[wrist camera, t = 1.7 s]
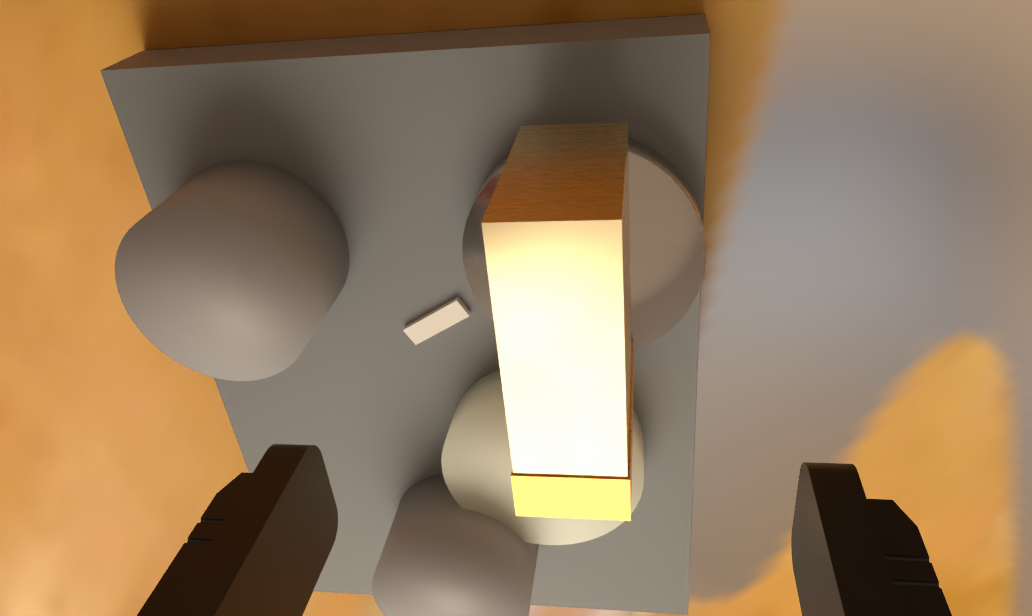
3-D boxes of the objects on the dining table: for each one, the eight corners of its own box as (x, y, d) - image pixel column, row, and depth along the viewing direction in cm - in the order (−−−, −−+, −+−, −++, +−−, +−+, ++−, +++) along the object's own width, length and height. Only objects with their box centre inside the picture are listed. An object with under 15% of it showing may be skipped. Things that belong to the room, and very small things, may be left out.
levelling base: (143, 50, 21) (20, 107, 17) (704, 13, 19) (721, 70, 15) (311, 549, 32) (260, 660, 28) (685, 568, 29) (692, 694, 25)
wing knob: (452, 115, 19) (380, 226, 14) (708, 103, 18) (733, 218, 13) (485, 355, 22) (438, 512, 17) (698, 356, 21) (714, 524, 16)
